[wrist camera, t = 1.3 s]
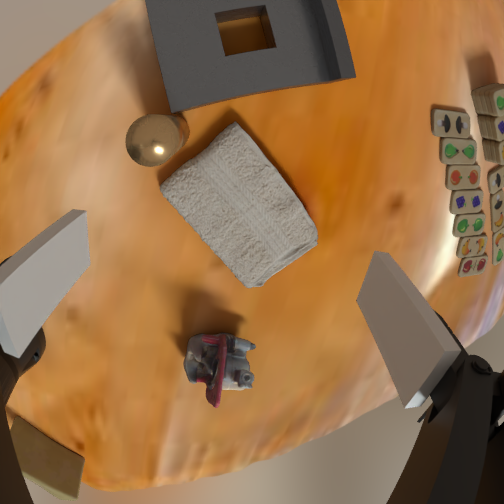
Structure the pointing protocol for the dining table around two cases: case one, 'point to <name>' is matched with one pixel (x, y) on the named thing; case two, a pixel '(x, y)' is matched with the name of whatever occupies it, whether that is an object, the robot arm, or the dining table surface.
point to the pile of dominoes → (474, 175)
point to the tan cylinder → (156, 138)
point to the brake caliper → (218, 363)
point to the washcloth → (241, 207)
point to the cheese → (47, 461)
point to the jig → (249, 63)
